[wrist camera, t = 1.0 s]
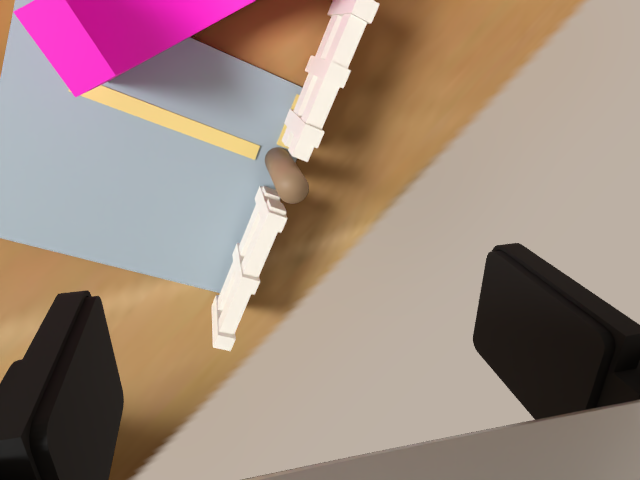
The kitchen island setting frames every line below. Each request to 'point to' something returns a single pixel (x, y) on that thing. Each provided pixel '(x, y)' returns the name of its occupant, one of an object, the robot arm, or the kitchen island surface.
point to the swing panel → (247, 266)
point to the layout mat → (138, 158)
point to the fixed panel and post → (318, 95)
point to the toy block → (114, 33)
